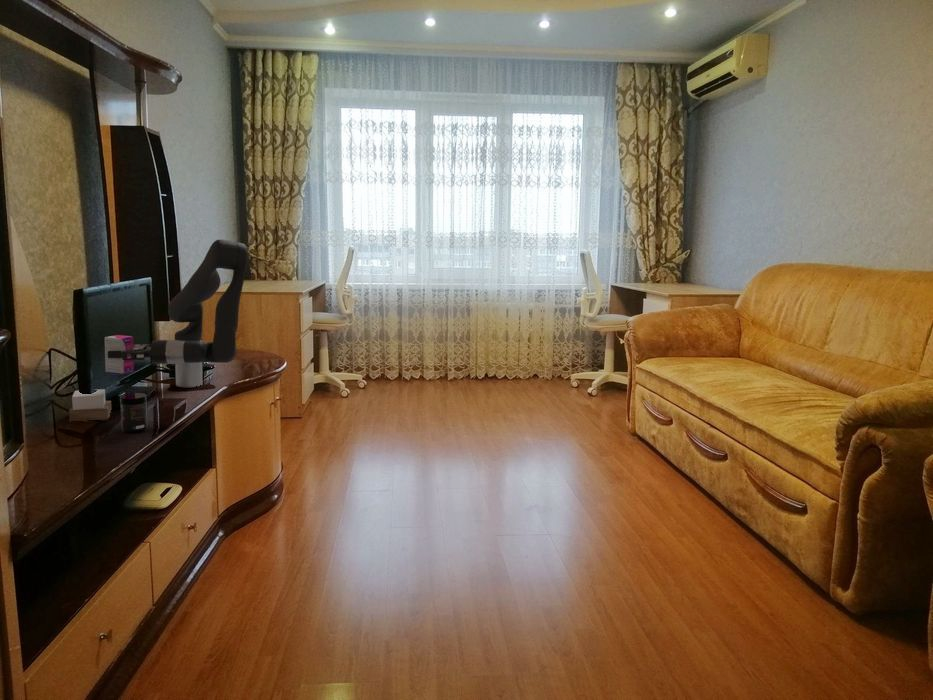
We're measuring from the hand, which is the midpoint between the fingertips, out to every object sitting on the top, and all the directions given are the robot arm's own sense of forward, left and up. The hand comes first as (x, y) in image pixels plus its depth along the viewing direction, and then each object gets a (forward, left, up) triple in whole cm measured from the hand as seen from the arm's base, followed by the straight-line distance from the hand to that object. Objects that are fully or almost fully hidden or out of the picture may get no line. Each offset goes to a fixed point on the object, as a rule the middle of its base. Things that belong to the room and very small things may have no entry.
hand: (111, 352), depth 195 cm
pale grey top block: (+2, -6, -16) cm, 17 cm away
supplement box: (0, +2, -7) cm, 7 cm away
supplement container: (+20, +7, -20) cm, 29 cm away
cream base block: (+2, -6, -20) cm, 21 cm away
